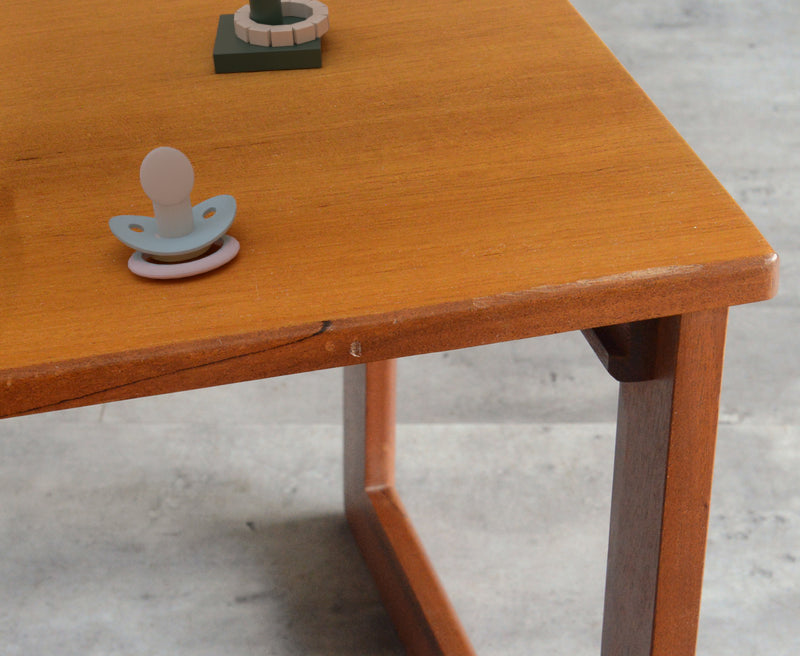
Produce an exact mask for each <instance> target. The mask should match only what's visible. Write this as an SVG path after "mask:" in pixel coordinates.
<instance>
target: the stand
mask: <svg viewBox="0 0 800 656" xmlns="http://www.w3.org/2000/svg"><path fill="white" fill-rule="evenodd" d="M248 4H250V13H251V20H253V21H254V22H256V23H258V24H264V25H271V26H277V25H291V24H295V23H298V22H302V21H305V20H306V18H300V17H294V16H286V17H283V15H282V5H281V0H248ZM234 14H235V13H227V14H225V13H224V14H219V18H218V23H217V29H216V34H215V39H214V45H213V51H212V60H213V68H214V73H215V74H226V73H227V74H228V73H243V72H244V73H245V72H247V73H248V72H262V71H263V72H264V71H281V70H298V69H299V70H300V69H316V68H322V67H323V44H322V43H323V35H322V36H321V37H319V38H315V40H312V41H309V42H305V43H302V44H299V45H298V44H296V43H294V45H293V46H280V47H272V44H271V45H270V46H269V47H266V46H260V45H253V44H250V42H248V43H246V42H245V41H243V40H241V39H240V38H238V37H237V35H236V33H235V25H234Z"/></svg>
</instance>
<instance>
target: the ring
mask: <svg viewBox="0 0 800 656" xmlns="http://www.w3.org/2000/svg"><path fill="white" fill-rule="evenodd" d="M281 5H282V15H283V17H286V16H294V17H300V18H306V20H305V21H302V22H298V23H295V24H291V25H277V26H271V25H264V24H258V23H256V22H254V21H253V20H251V13H250V4H249V3H246V4H244V5H242V7H240V8H237V10H236V11H235V12H234V13H233V14H234V25H235V33H236V35H237V37H238V38H240V39H241V40H243V41H245V42H246V43H248V42H250V44H253V45H260V46H266V47H269V46H270V45H271V44H272V47H280V46H293V45H294V43H296V44H298V45H299V44H302V43H305V42H309V41H312V40H315V38H319V37H321V36H322V37H323V35H325V34H326V33H328V31H329V30H330V29H331V26H330V15H329V7H328V6H327V5H326V4H325V3H323V2H321V1H319V0H281Z"/></svg>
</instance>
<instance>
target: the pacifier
mask: <svg viewBox="0 0 800 656" xmlns="http://www.w3.org/2000/svg"><path fill="white" fill-rule="evenodd" d="M139 181H140V185H141V188H142V190H143V192H144V193H145V195H146V196H147V197H148V198H149V199H150V200H151V203H152V209H153V213H154V217H153V216H145V215H134V214H122V215H116V216H112V217H110V218H109V220H108V227H109V229H110V232H111V233H112V234H113V236H114V237H115V238H117V240H119V242H121V243H122V244H124V245H126V246H127V247H129V248H131V249H133V250H135V251H134V252H133V253H132V254H131V256H130V257H129V258H128V261H127V267H128V269H129V270H130V271H131V273H133V274H135V275H137V276H139V277H143V278H148V279H158V280H159V279H160V280H170V279H181V278H186V277H192V276H197V275H201V274H204V273H207V272H210V271H213V270H215V269H218V268H220V267H221V266H223V265H225V264H227V263H229V262H230V261H232V259H234V258H235V257H236V256H237V255H238V253H239V252H240V249H241V245H240V242H239V241H238V240H237V239H236V237H234V236H231V235H229V234H226V233H227V232H228V230H229V229H230V228H231V227H232V225H233V224H234V221H235V219H236V216H237V211H238V206H237V201H236V198H235V197H234V196H233V195H230V194H219V195H215V196H213V197H209V198H207V199H205V200H203V201H201V202H199V203H198V204H195V205H194V206H192V202H191V201H192V200H191V196H190V195H191V193H192V192H193V189H194V184H195V171H194V167H193V165H192V163H191V161H190V159H189V158H188V157H187V156H186V155H185V154H184V153H183V152H182V151H180V150H179V149H177V148H174V147H171V146H159V147H156V148H154V149H152V150H151V151H150V152H148V153H147V154H146V156H144V158H143V160H142V162H141V165H140V169H139ZM211 213H214V214H213V215H212V216H210V217H207V218H205V217H206V216H207V215H208V214H211ZM133 229H138V230H141V232H140V231H135V230H133ZM212 245H217V246H219V247H220V248H219V249H218V250H217V251H215V252H214V253H212V254H210V255H207V256H205V257H203V258H200V259H197V260H193V261H189V262H183V263H177V264H175V263H176V262H182V261H187V260H191V259H194V258H197V257H200V256H201V255H203V254H204V253H206V252H207V251H209V249H210V248H211V247H212ZM149 258H152V259H153V260H157V261H160V262H165V263H166V262H167V263H174V262H175V263H174V264H157V263H151V262H148V261H147V259H149Z"/></svg>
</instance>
